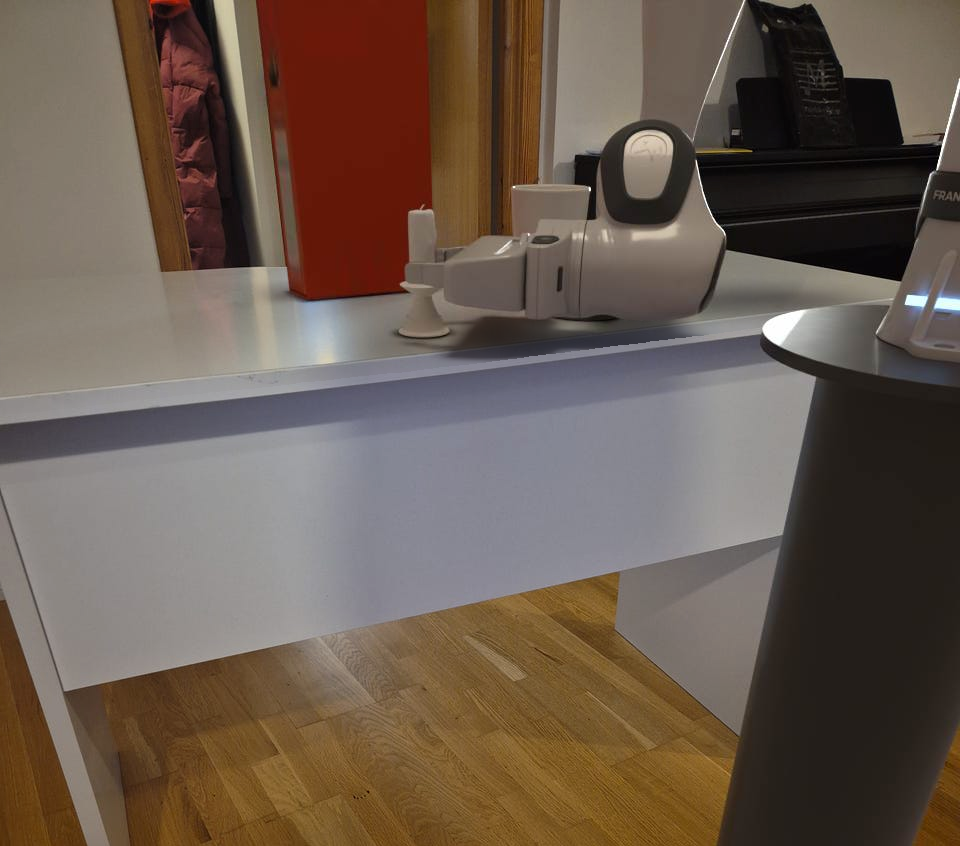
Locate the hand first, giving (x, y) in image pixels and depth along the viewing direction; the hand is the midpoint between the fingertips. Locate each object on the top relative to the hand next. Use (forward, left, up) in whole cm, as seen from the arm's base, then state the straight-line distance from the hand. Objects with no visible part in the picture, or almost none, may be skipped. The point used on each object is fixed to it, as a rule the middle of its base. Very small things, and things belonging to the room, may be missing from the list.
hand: (418, 264), depth 85 cm
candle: (0, 0, -7) cm, 7 cm away
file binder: (+24, -12, -7) cm, 27 cm away
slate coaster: (-6, -20, -7) cm, 22 cm away
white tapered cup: (+6, -28, -7) cm, 29 cm away
